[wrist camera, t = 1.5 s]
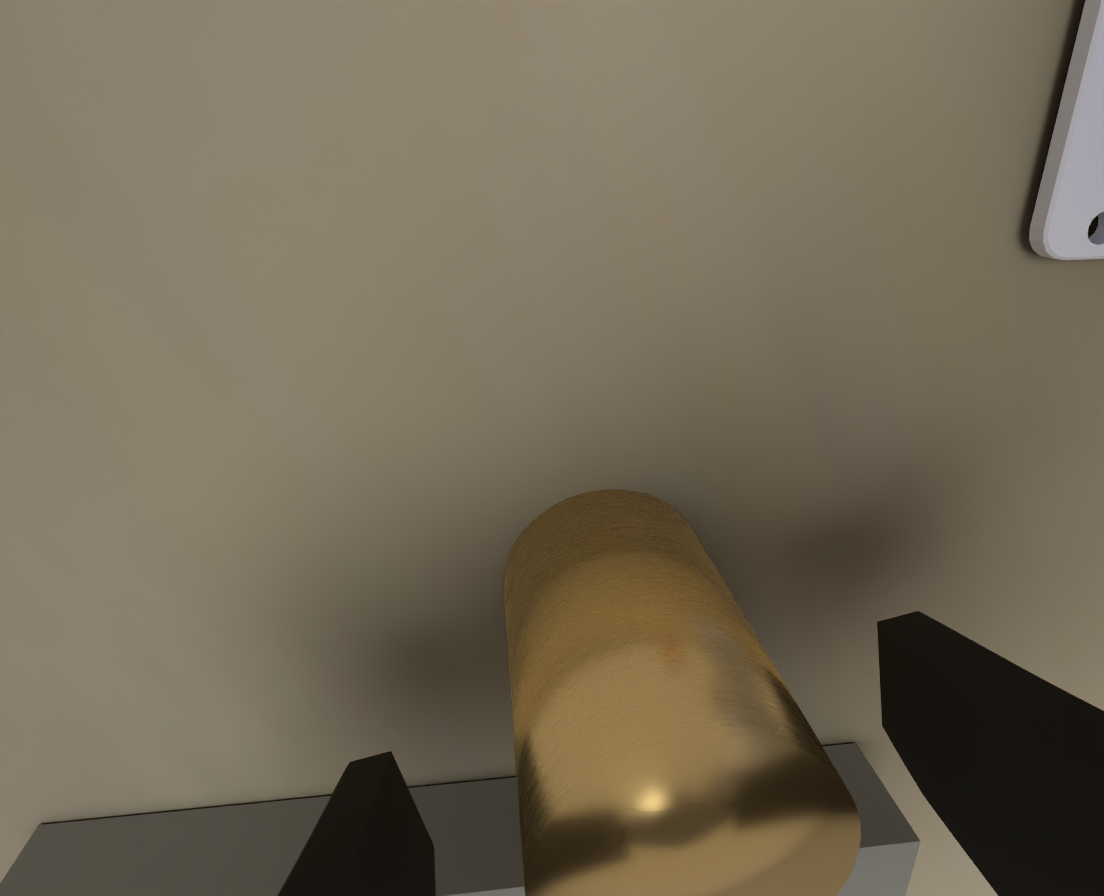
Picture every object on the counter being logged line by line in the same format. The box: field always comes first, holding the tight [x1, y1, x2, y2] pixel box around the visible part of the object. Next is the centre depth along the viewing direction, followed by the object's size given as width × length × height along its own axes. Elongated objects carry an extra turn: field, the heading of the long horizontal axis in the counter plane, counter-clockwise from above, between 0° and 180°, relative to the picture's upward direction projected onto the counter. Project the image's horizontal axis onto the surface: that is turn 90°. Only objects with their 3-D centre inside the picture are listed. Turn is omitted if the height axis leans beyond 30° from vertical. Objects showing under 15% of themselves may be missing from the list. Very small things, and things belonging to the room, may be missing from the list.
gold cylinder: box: [504, 490, 861, 896], centre depth 11 cm, size 4×4×6 cm
